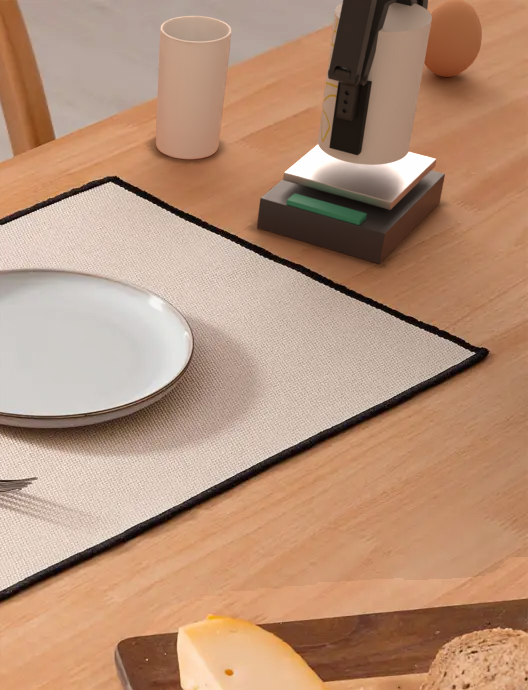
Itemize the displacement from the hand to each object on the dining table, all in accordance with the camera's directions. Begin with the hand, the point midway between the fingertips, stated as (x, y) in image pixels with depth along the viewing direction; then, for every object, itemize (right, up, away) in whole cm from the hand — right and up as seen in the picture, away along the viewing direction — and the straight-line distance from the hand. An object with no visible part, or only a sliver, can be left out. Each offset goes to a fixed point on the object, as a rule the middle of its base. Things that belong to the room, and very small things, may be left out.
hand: (365, 132), depth 139 cm
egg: (+15, +13, +30) cm, 36 cm away
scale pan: (0, -4, +3) cm, 5 cm away
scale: (-1, -7, +4) cm, 8 cm away
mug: (-14, +3, +17) cm, 22 cm away
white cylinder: (0, -1, +1) cm, 1 cm away
